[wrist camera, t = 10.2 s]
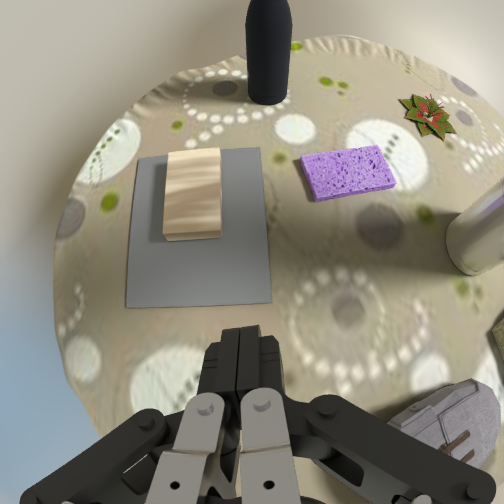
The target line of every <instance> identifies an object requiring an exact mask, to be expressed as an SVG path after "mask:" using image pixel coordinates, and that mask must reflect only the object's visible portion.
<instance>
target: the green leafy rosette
mask: <svg viewBox="0 0 504 504" xmlns="http://www.w3.org/2000/svg"><path fill="white" fill-rule="evenodd" d="M413 96H414V101H412V100H409V99H403V100H402V99H399V100H400V101H401V102H402V103H404V105H405V106H406V107H407V108H408V109H409V112H408V113H407V116H405V117H404V118H408V119H413V120H417V122H418V126H419V128H420V131H421V133H422V137H423V136H425V135H427V134H431V133H433V132H434V130H435V131H436V132H437V133H438V135H439V136H440V137H441V138H442V139H443V141H444V138H445V133H446V132H451V133H456V132H455V130H454V129H453V127H452V125H451V124H450V123H449V122H448V121H446V120H447V119H448V118H449V116H450V115H449V114H447V113H446V112H444V110H442V109H441V108H444V107H443V106H442V107H439V105H440V104H439V105H438V104H437V103H436V102H435V101H434V98H433V99H432V98H431V99H428V98H427V97H426V96H425V97H426V98H427V99H426V100H425V99H424V98H422V97H420V96H416V95H414V94H413ZM430 96H431V94H430ZM442 103H443V102H442ZM442 103H441V104H442ZM412 107H413V108H412ZM417 108H418V109H417ZM424 112H427V113H428V115H427V116H428V117H429V118H430V117H432V116H433V120H432V122H431V121H429V120H427V119H425V118H424V117H423V114H424ZM430 115H431V116H430ZM424 123H428V125H429V126H427V127H425V126H424ZM456 134H457V133H456Z"/></svg>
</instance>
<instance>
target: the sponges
mask: <svg viewBox="0 0 504 504" xmlns="http://www.w3.org/2000/svg"><path fill="white" fill-rule="evenodd" d="M300 160H301V166H302V169H303V170H304V173H305V176H306V178H307V181H308V183H309V184H310V188H311V191H312V194H313V197H314V199H315V202H319V201H324V200H329V199H334V198H340V197H344V196H350V195H355V194H361V193H367V192H371V191H378V190H385V189H390V188H393V187H394V186H395V184H396V183H397V182H396V180H395V178H394V176H393V174H392V172H391V170H390V169H389V168H388V164H387V162H386V160H385V159H384V157H383V155H382V152H381V150H380V149H379V146H378V145H374V146H367V147H361V148H359V149H356V148H353V149H346V150H336V151H329V152H323V153H317V154H311V155H303V156H301V158H300Z"/></svg>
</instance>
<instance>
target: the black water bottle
mask: <svg viewBox="0 0 504 504" xmlns="http://www.w3.org/2000/svg"><path fill="white" fill-rule="evenodd" d="M245 28H246V50H247V74H248V94H249V96H250V98H251V99H252V100H253V101H255V102H257V103H259V104H263V105H274V104H277V103H280V102H282V101H283V100H284V99H285V97H286V95H287V85H288V74H289V62H290V50H291V37H292V19H291V12H290V8H289V5H288V2H287V0H251V2H250V5H249V7H248V11H247V16H246V23H245Z"/></svg>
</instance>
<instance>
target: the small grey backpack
mask: <svg viewBox="0 0 504 504" xmlns="http://www.w3.org/2000/svg"><path fill="white" fill-rule="evenodd" d="M387 424H389V425H391V426H393V427H395V428H396V429H398V430H400V431H402V432H404V433H406V434H408V435H410V436H412V437H413V438H415V439H417V440H419V441H421V442H423V443H425V444H427V445H429V446H431V447H433V448H435V449H437V450H439V451H441V452H443V453H445V454H447V455H449V456H451V457H454V458H456V459H458V460H460V461H462V462H464V463H466V464H469V465H471V466H473V467H475V468H477V469H479V468H480V467H481V466H482V464H483V463H484V462H485V460H486V459H487V457H488V456H489V455H490V453H491V452H492V450H493V448H494V445H495V442H496V439H497V436H498V433H499V430H500V427H501V413H500V404H499V402H498V400H497V398H496V396H495V394H494V392H493V390H492V389H491V388H490V387H488V386H487V385H485V384H482V383H480V382H478V381H476V380H474V379H472V378H471V379H468V380H465V381H463V382H460V383H457V384H454V385H450V386H447V387H444V388H441V389H439V390H438V391H436V392H434V393H433V394H431V395H430V396H428V397H426V398H425V399H423V400H421V401H417V402H415V403H414V404H412V405H410V406H409V407H407V409H405V410H404V411H402V412H401V413H399V414H398V415H396V416H395V417H393V418H391V419H390V421H388V422H387Z"/></svg>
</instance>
